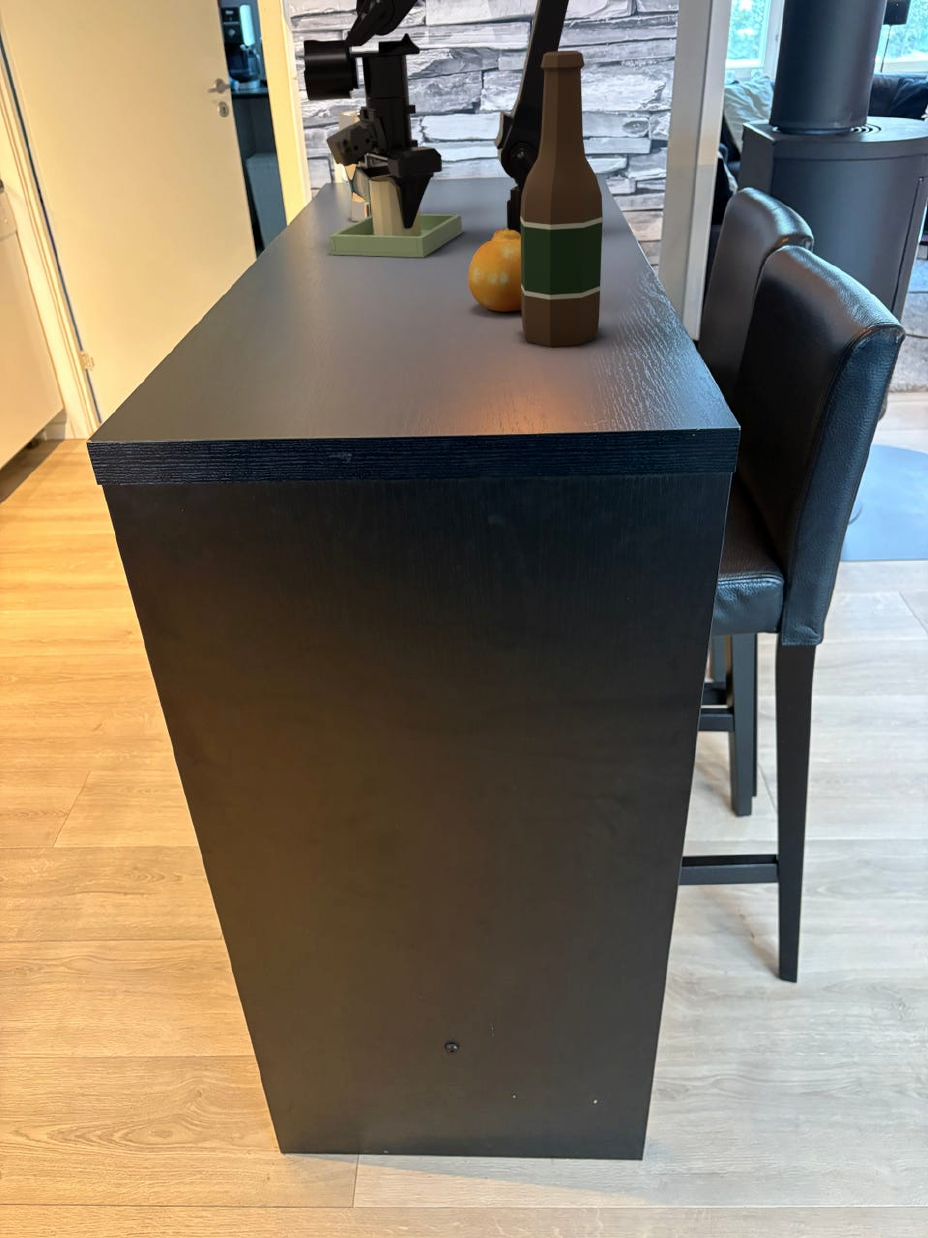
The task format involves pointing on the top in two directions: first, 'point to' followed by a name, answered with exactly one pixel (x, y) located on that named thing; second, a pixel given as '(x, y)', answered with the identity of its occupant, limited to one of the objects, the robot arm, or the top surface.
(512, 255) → the fruit
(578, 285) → the beer bottle
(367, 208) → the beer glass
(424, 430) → the top surface
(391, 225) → the cup
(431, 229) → the tray
